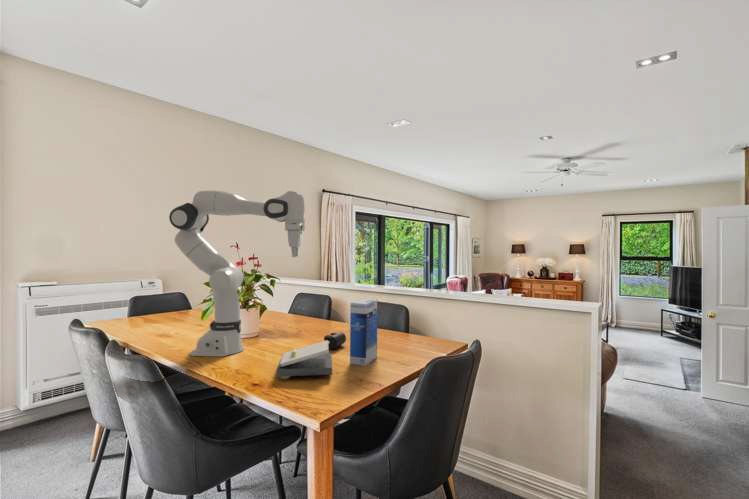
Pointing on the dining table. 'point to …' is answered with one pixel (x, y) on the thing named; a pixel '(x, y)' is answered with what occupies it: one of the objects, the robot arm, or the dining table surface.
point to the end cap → (335, 340)
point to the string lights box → (363, 331)
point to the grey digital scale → (307, 367)
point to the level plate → (304, 353)
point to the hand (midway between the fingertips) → (294, 256)
